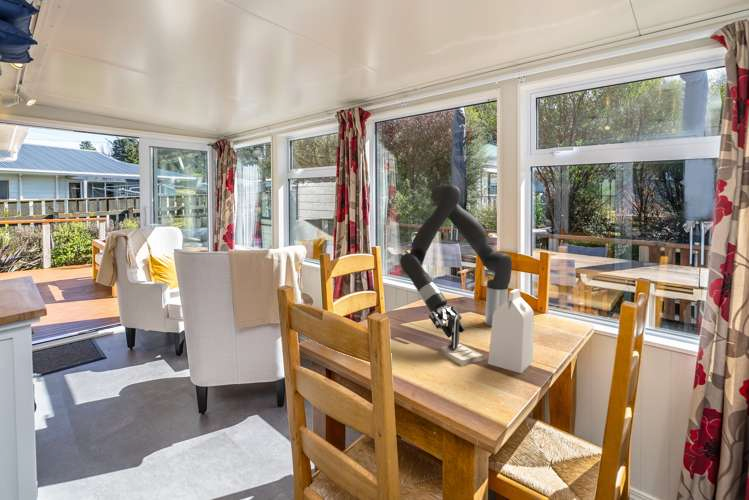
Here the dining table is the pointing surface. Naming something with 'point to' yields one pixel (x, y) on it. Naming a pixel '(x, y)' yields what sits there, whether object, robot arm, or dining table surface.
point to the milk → (512, 334)
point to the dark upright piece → (454, 330)
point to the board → (461, 354)
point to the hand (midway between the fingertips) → (456, 333)
